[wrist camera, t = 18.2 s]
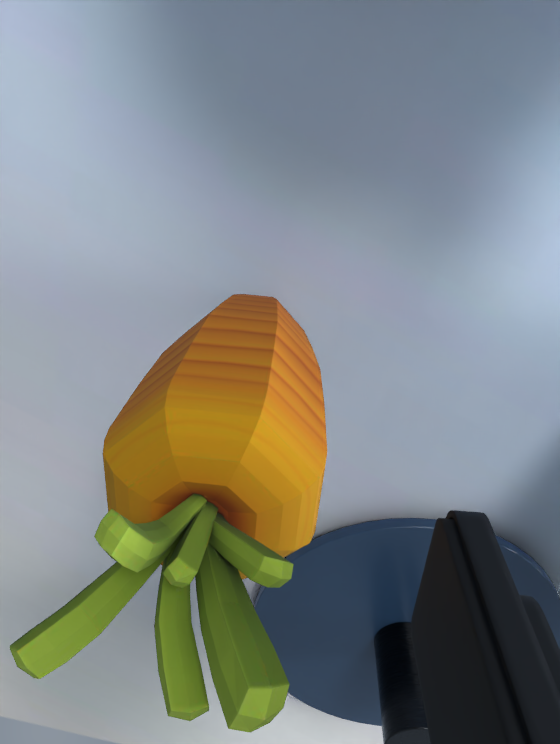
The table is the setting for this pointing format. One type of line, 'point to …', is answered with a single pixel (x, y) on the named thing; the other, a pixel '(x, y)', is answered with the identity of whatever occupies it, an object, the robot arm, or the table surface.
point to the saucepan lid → (368, 621)
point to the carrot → (207, 507)
